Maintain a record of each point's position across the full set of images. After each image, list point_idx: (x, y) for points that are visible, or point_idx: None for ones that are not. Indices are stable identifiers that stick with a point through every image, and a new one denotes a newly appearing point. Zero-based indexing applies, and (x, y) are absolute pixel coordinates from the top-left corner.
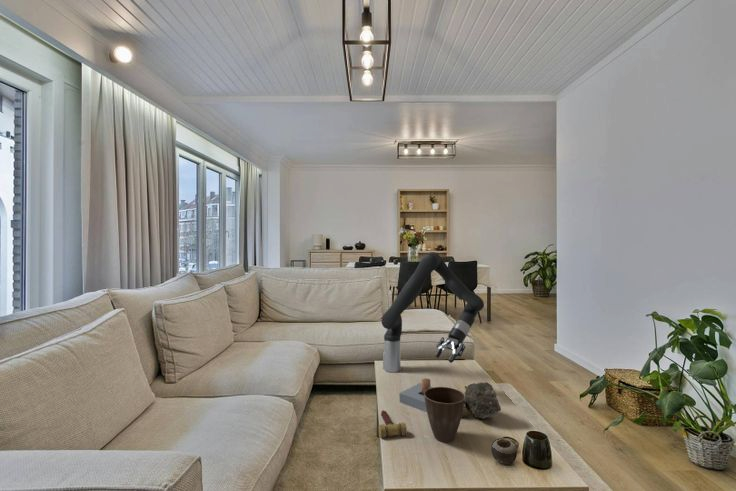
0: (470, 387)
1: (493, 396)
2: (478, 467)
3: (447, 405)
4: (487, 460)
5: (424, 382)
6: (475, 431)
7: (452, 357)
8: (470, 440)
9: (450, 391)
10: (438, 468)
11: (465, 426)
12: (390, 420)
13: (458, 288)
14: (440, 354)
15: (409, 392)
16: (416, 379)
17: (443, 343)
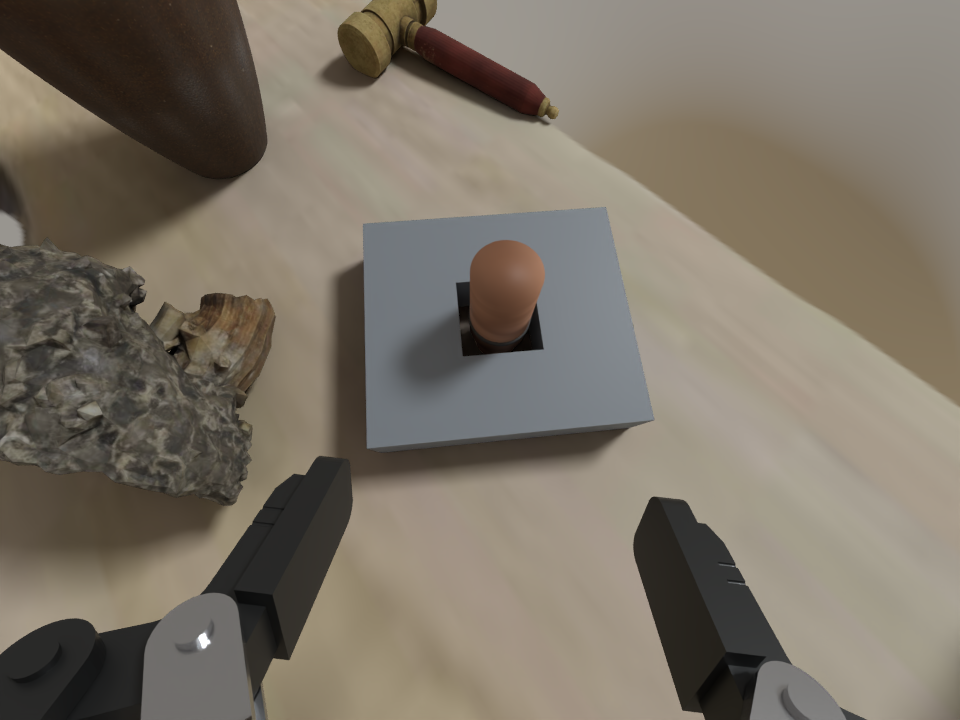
0: (12, 282)
1: None
2: (35, 85)
3: None
4: (16, 132)
5: (493, 245)
6: (127, 266)
7: (264, 527)
8: (120, 194)
9: (64, 14)
10: None
11: (186, 271)
12: (439, 44)
13: None
14: (659, 629)
15: (576, 253)
16: (814, 583)
17: None
